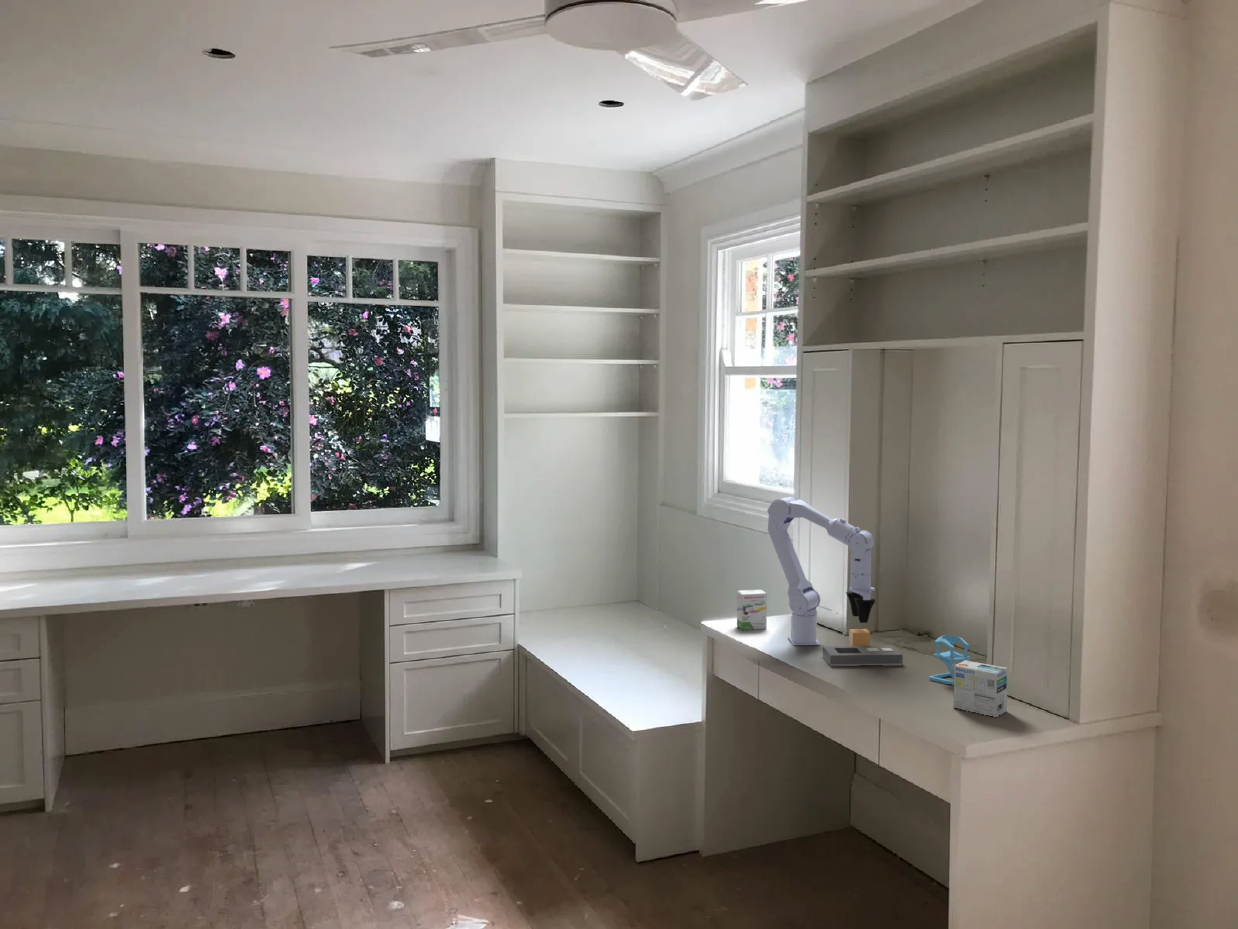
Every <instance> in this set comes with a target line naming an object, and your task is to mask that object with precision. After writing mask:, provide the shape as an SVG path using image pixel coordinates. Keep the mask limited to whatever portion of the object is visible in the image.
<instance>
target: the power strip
mask: <svg viewBox="0 0 1238 929" xmlns="http://www.w3.org/2000/svg"><path fill="white" fill-rule="evenodd" d="M903 656H904V655H903V653H902V652H900V650H898V649H897V648H896V647H895V646H894V645H886V644H885V645H870V646H849V645H823V646H822V658H823V657H824V658H825V659H824V658H823V659H824V660H825V662H828V663H827V664H828V665H829V664H830V665H829V667H848V666H849V667H853V666H854V667H856V666H857V667H861V666H860V665H883V666H903ZM858 665H859V666H858Z"/></svg>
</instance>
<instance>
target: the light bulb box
mask: <svg viewBox="0 0 1238 929" xmlns="http://www.w3.org/2000/svg"><path fill="white" fill-rule="evenodd" d="M953 670H954V679H953V681H954V686H953V706H952V707H953V709H954V708H959V709H963V710H966V711H965V712H968V711H970V712H969V713H972V712H977V713H980V714H979V715H981V714H984V715H983V716H986V715H990V716H993V717H992V718H995V717H997V718H998V717H1000V716H1002V715H1003V714H1004V713H1006V712H1007V711H1008V706H1007V705H1008V667H1004V666H998V665H992V664H986V663H982V662H981V663H980V662H976V661H971V660H968V661H967V660H965V661H963V662H961V661H960V662H959V663H957V664H956V663H955V665H954V666H953ZM959 709H958V710H959ZM963 710H962V711H963ZM977 713H976V714H977ZM999 715H1000V716H999ZM990 716H989V717H990Z"/></svg>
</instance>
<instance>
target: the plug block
mask: <svg viewBox="0 0 1238 929" xmlns="http://www.w3.org/2000/svg"><path fill="white" fill-rule="evenodd" d="M848 631H849V635H848V638H849V639H848V646H871V632H870V631H869V630H868V629H867V628H863V629H862V628H857V629H856V628H854V629H852V628H851V629H850V628H849V630H848Z"/></svg>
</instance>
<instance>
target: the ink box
mask: <svg viewBox="0 0 1238 929" xmlns="http://www.w3.org/2000/svg"><path fill="white" fill-rule="evenodd" d="M767 595H768V594H767V592H765V591H764V590H763V589H745V590H743V589H742V590H740V589H739V590H737V591H736V627H737V626H738V627H739V628H740V630H741V631H749V630H752V629H755V630H766V629H768V628H767V621H768V620H767V618H768V617H767V616H768V614H767V613H768V612H767V611H768V609H767V607H768V606H767V604H768V603H767V602H768V596H767ZM738 627H737V628H738ZM739 628H738V629H739Z"/></svg>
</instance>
